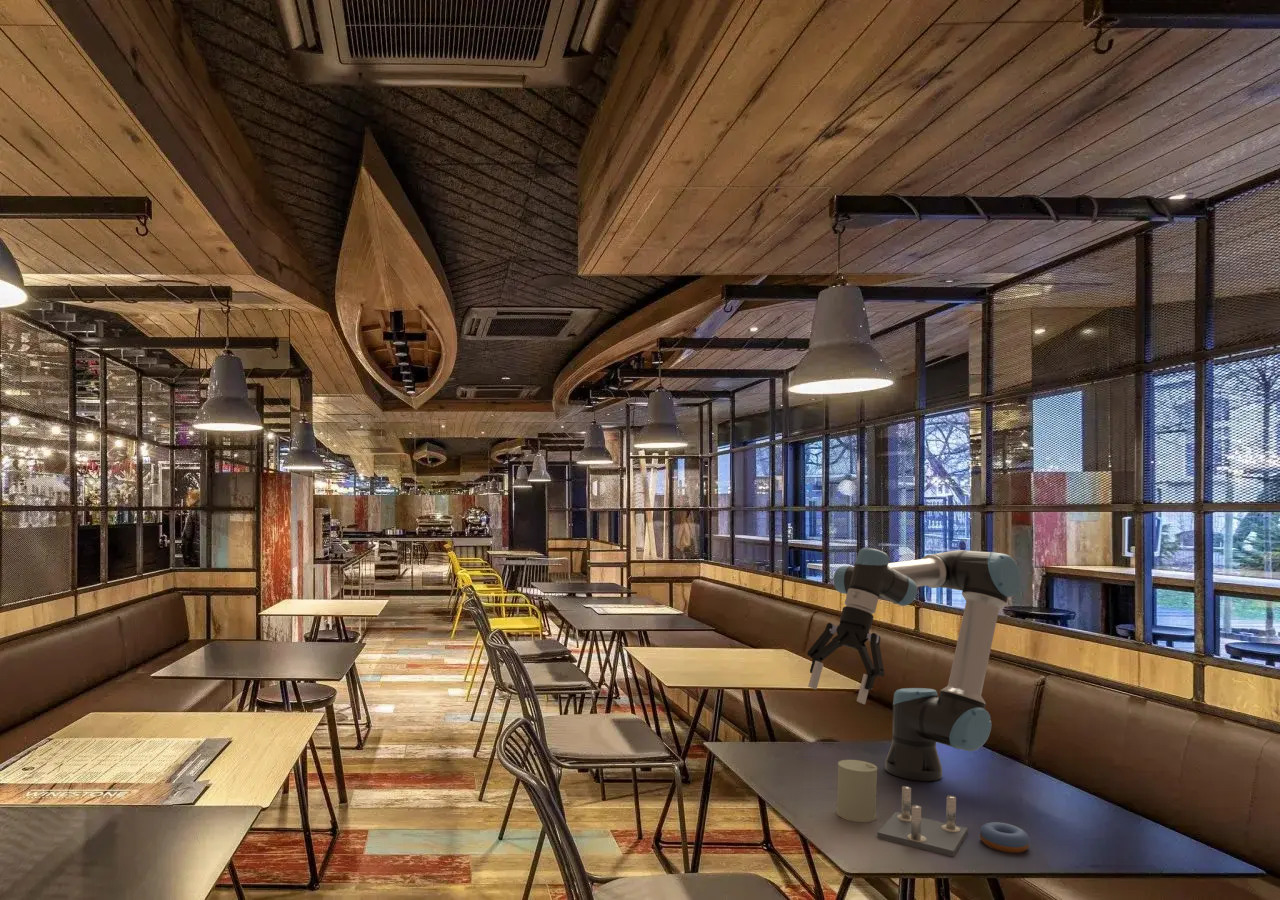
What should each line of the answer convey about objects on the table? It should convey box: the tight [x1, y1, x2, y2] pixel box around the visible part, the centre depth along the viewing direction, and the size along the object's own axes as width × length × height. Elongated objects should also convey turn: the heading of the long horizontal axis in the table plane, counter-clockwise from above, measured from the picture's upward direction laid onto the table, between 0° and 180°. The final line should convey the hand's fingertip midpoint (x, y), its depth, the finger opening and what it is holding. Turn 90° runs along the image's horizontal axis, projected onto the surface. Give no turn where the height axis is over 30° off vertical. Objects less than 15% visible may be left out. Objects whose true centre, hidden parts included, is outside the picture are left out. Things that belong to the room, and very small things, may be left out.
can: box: [835, 759, 878, 823], centre depth 195 cm, size 9×9×12 cm
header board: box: [876, 811, 969, 857], centre depth 183 cm, size 16×16×1 cm
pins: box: [901, 785, 957, 841], centre depth 183 cm, size 14×12×7 cm
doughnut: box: [979, 821, 1030, 854], centre depth 180 cm, size 10×10×5 cm
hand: (835, 695), depth 196 cm, fingers open, 13 cm apart
